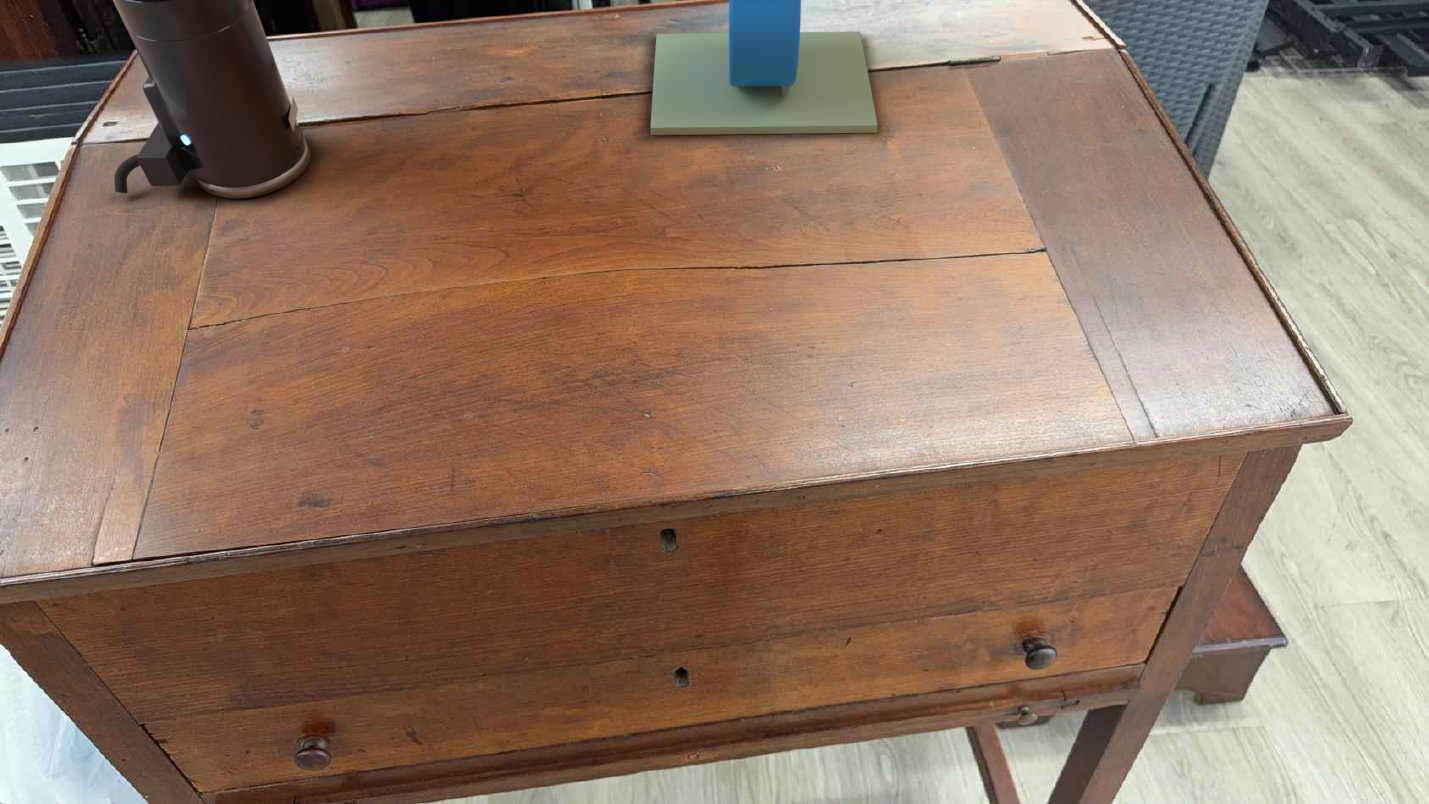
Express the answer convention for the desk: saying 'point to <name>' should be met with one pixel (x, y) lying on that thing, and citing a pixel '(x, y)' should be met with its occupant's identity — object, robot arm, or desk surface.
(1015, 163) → the desk surface
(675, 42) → the mat
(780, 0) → the alarm clock
